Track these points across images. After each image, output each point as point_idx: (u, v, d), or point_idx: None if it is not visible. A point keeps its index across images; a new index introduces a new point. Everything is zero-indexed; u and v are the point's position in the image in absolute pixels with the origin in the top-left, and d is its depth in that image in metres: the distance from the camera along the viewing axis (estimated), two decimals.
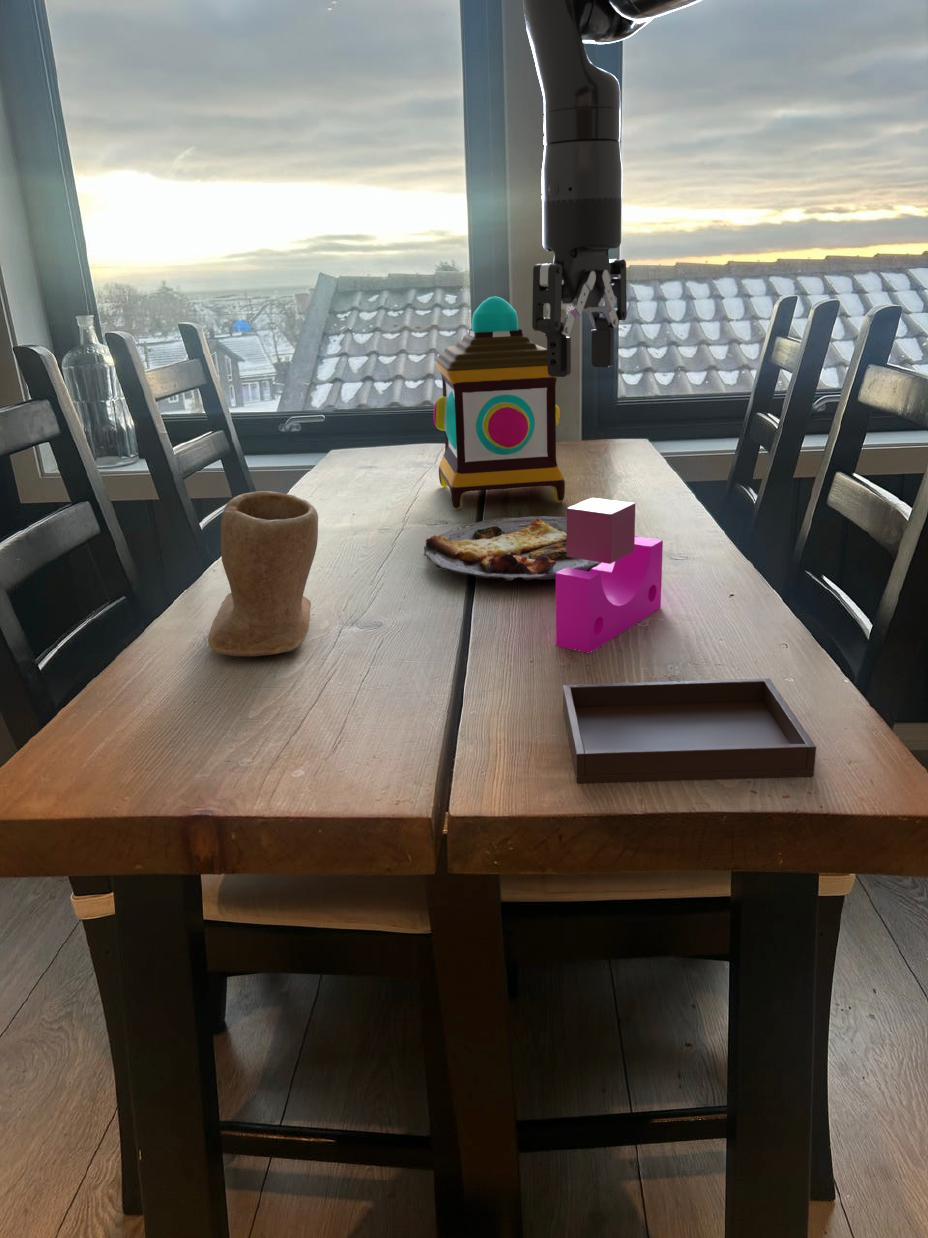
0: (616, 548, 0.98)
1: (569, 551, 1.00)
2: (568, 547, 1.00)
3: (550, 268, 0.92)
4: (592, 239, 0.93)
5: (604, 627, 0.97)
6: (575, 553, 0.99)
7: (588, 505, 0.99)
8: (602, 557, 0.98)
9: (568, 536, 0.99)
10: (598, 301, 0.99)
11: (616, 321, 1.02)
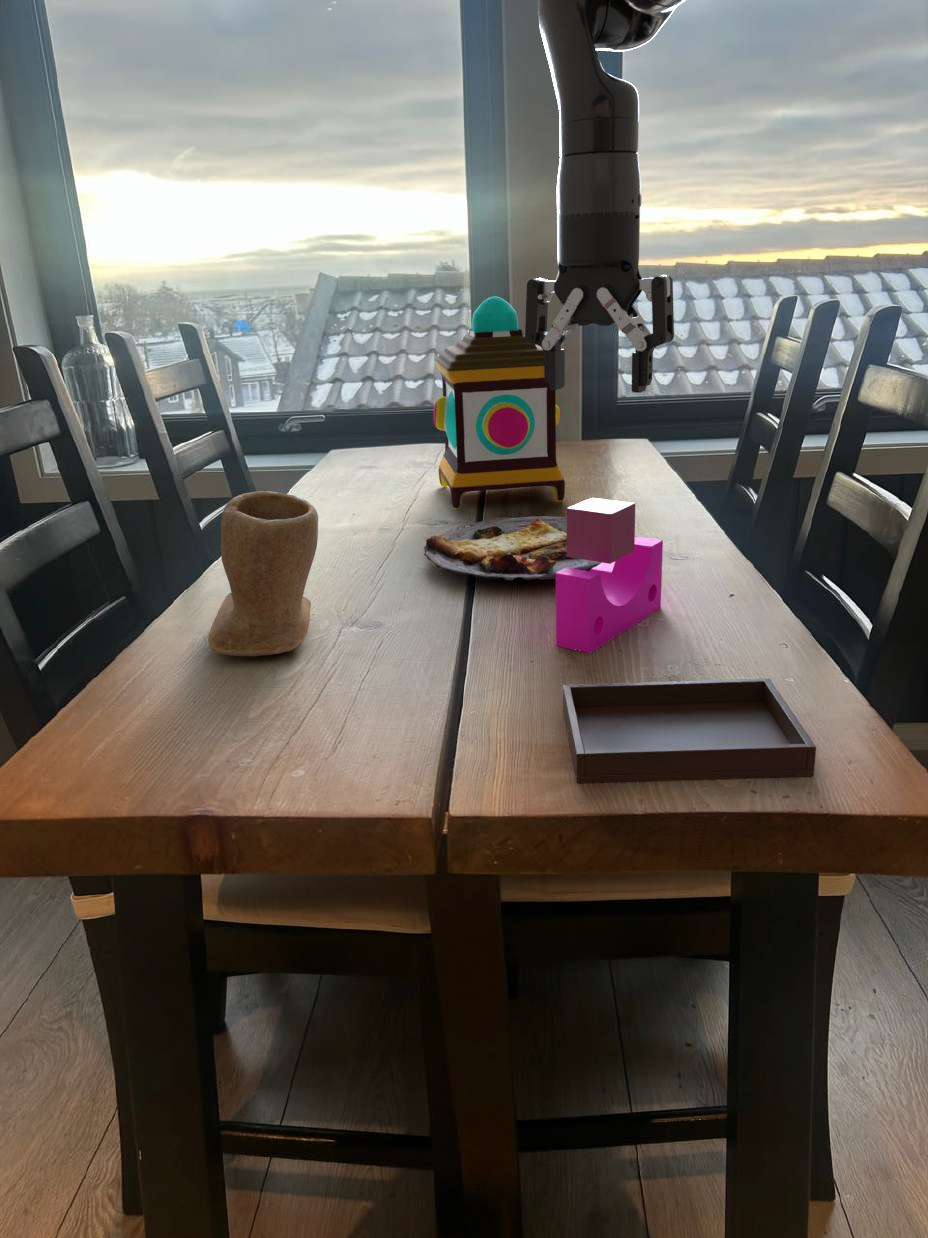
0: (616, 548, 0.98)
1: (569, 551, 1.00)
2: (568, 547, 1.00)
3: None
4: (560, 256, 0.92)
5: (604, 627, 0.97)
6: (575, 553, 0.99)
7: (588, 505, 0.99)
8: (602, 557, 0.98)
9: (569, 536, 0.99)
10: (607, 320, 0.93)
11: (639, 344, 0.92)
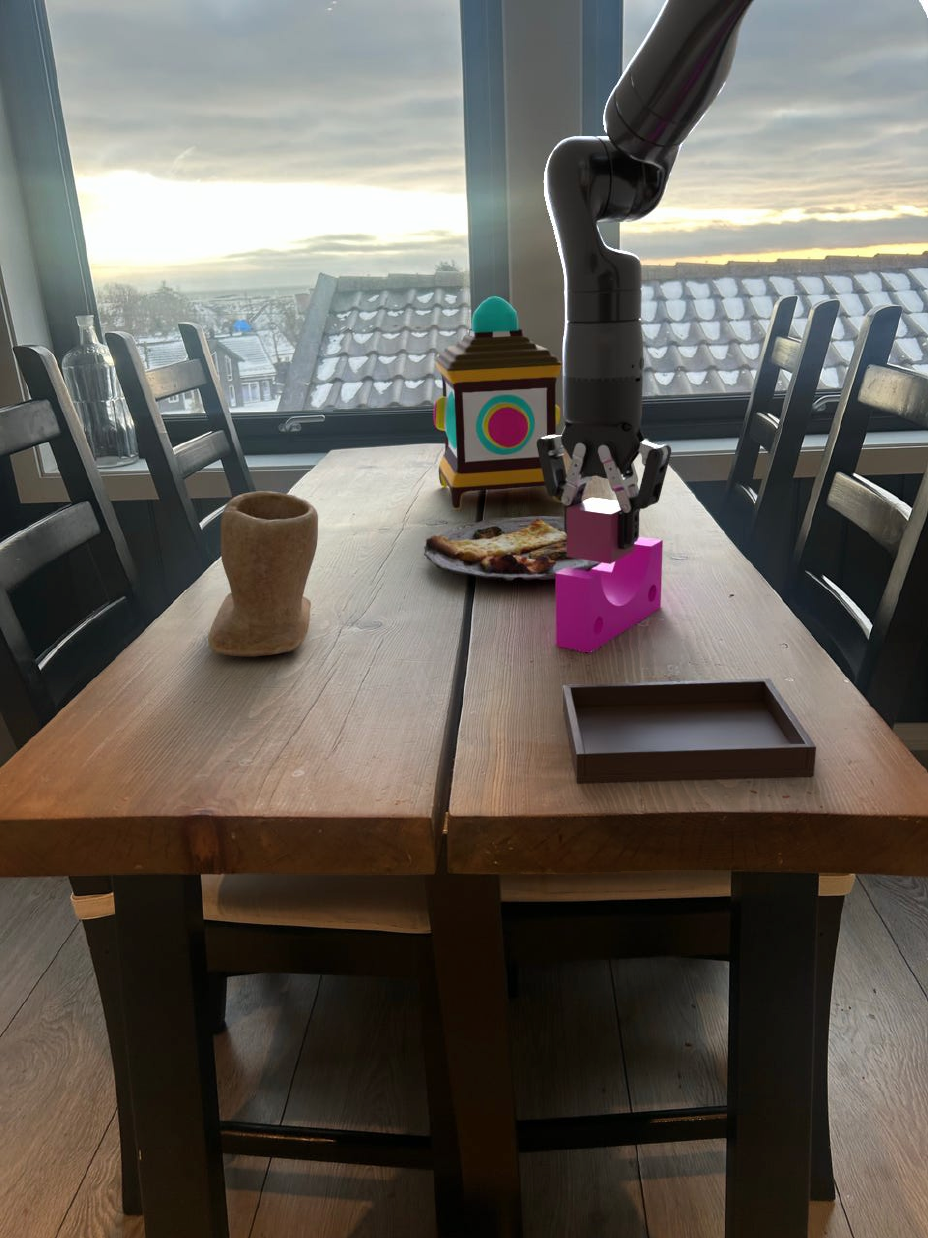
0: (617, 548, 0.98)
1: (569, 551, 1.00)
2: (568, 547, 1.00)
3: None
4: (564, 413, 0.95)
5: (604, 627, 0.97)
6: (575, 553, 0.99)
7: (588, 505, 0.99)
8: (602, 557, 0.98)
9: (568, 536, 0.99)
10: (602, 472, 0.96)
11: (624, 506, 0.96)
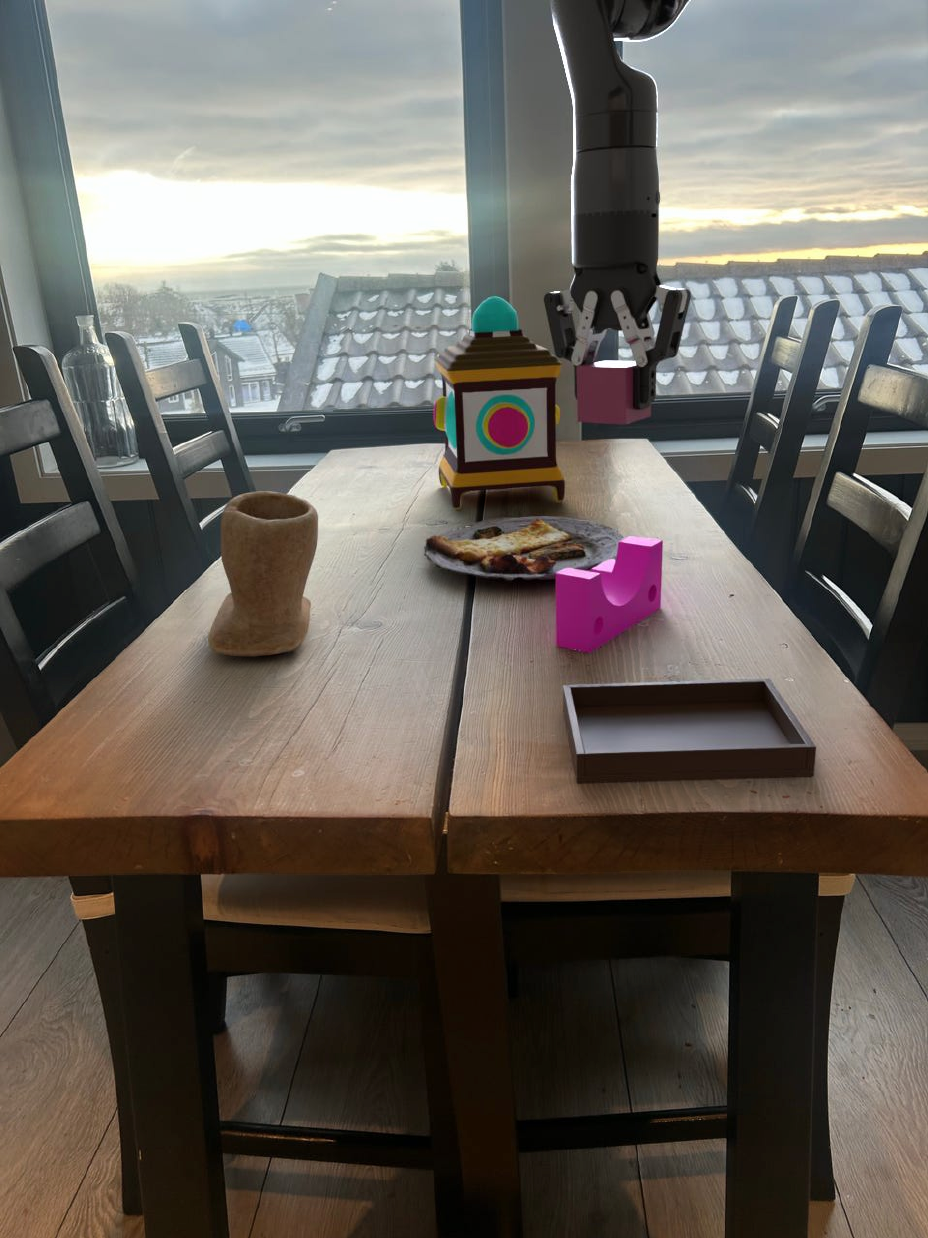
0: (632, 408, 0.90)
1: (580, 415, 0.92)
2: (579, 410, 0.92)
3: None
4: (573, 258, 0.88)
5: (604, 627, 0.97)
6: (587, 416, 0.92)
7: (600, 364, 0.91)
8: (616, 418, 0.90)
9: (579, 398, 0.92)
10: (616, 324, 0.89)
11: (639, 359, 0.88)
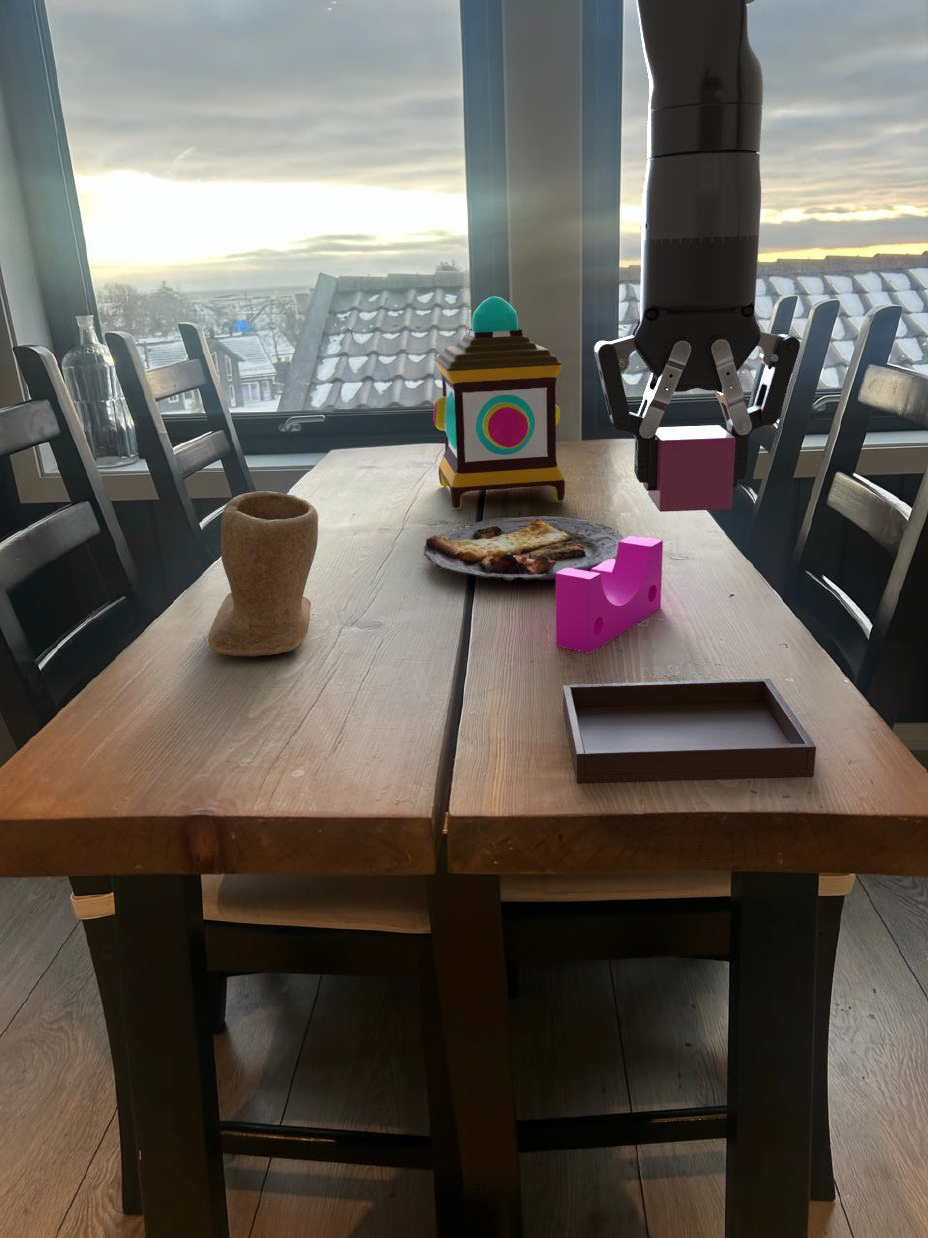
0: None
1: (665, 503, 0.69)
2: (663, 497, 0.69)
3: (597, 351, 0.68)
4: (665, 297, 0.64)
5: (604, 627, 0.97)
6: (674, 504, 0.69)
7: (676, 434, 0.70)
8: (719, 502, 0.69)
9: (664, 482, 0.69)
10: (707, 382, 0.68)
11: (743, 425, 0.69)
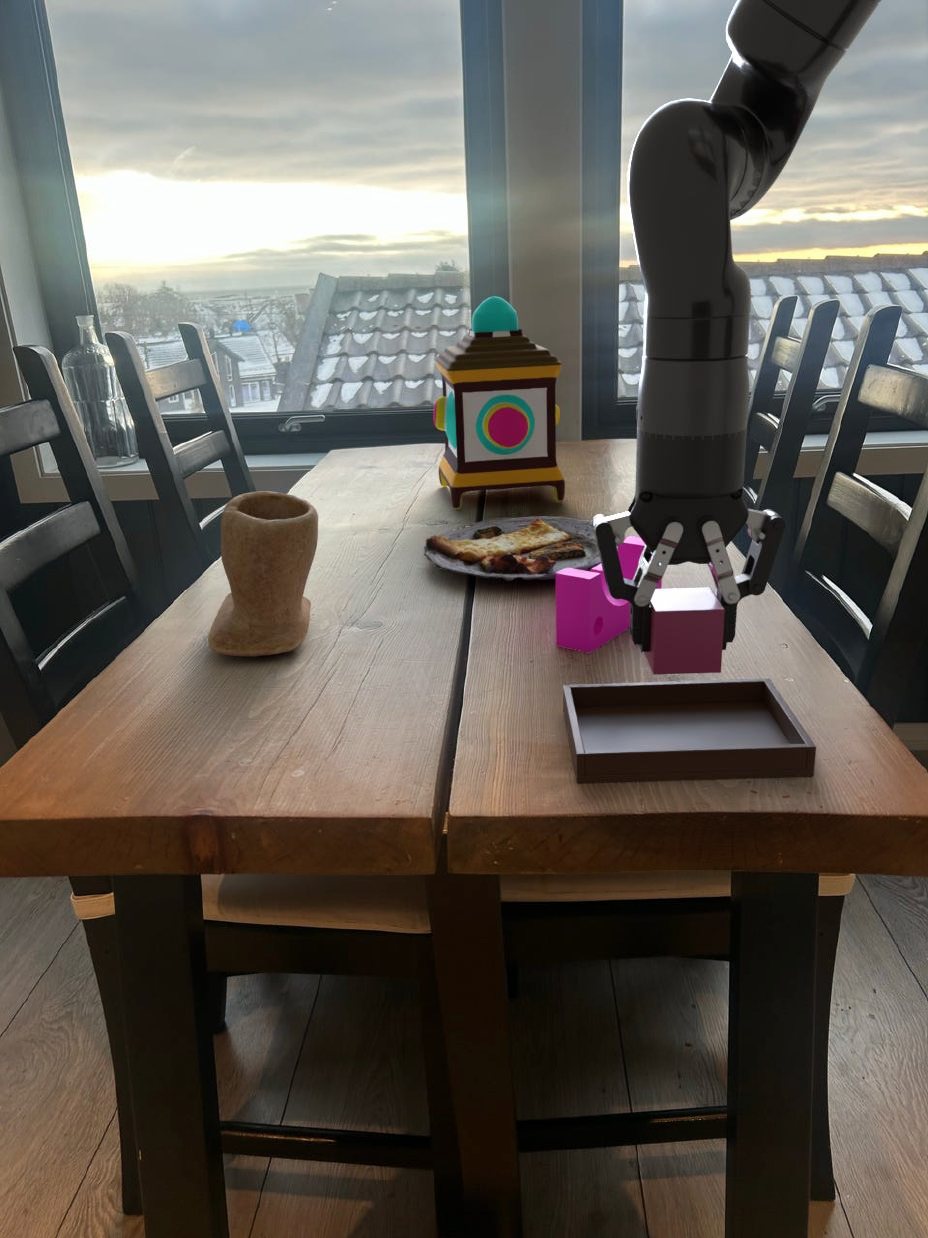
0: None
1: (658, 667, 0.74)
2: (656, 662, 0.73)
3: (595, 528, 0.72)
4: (658, 486, 0.69)
5: (604, 627, 0.97)
6: (667, 668, 0.74)
7: (669, 601, 0.74)
8: (709, 666, 0.74)
9: (658, 648, 0.73)
10: (698, 556, 0.72)
11: (731, 596, 0.73)
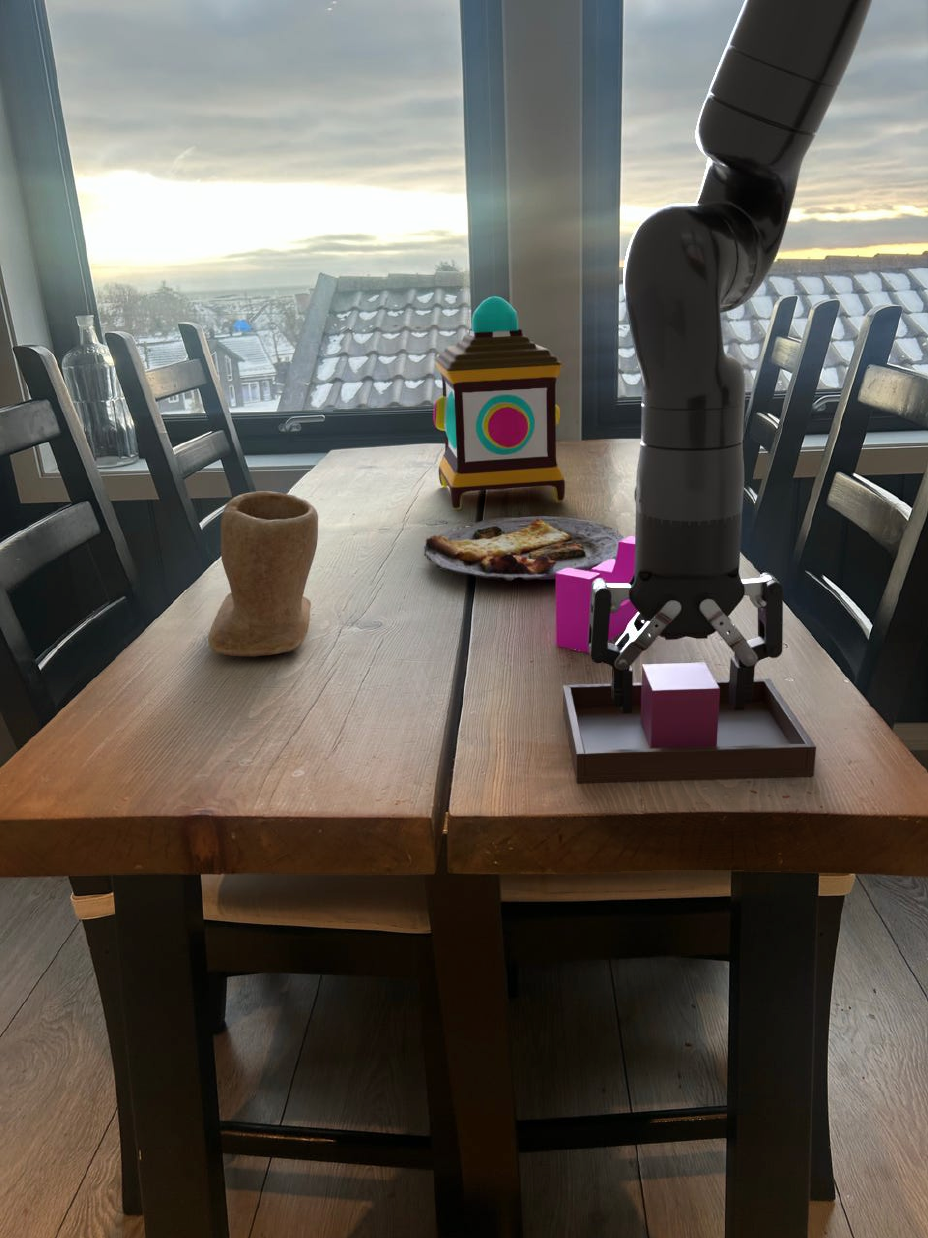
0: None
1: (655, 743, 0.76)
2: (654, 738, 0.76)
3: (595, 591, 0.74)
4: (657, 567, 0.71)
5: None
6: (664, 744, 0.76)
7: (666, 679, 0.76)
8: (705, 742, 0.76)
9: (655, 725, 0.75)
10: (706, 632, 0.74)
11: (749, 659, 0.75)
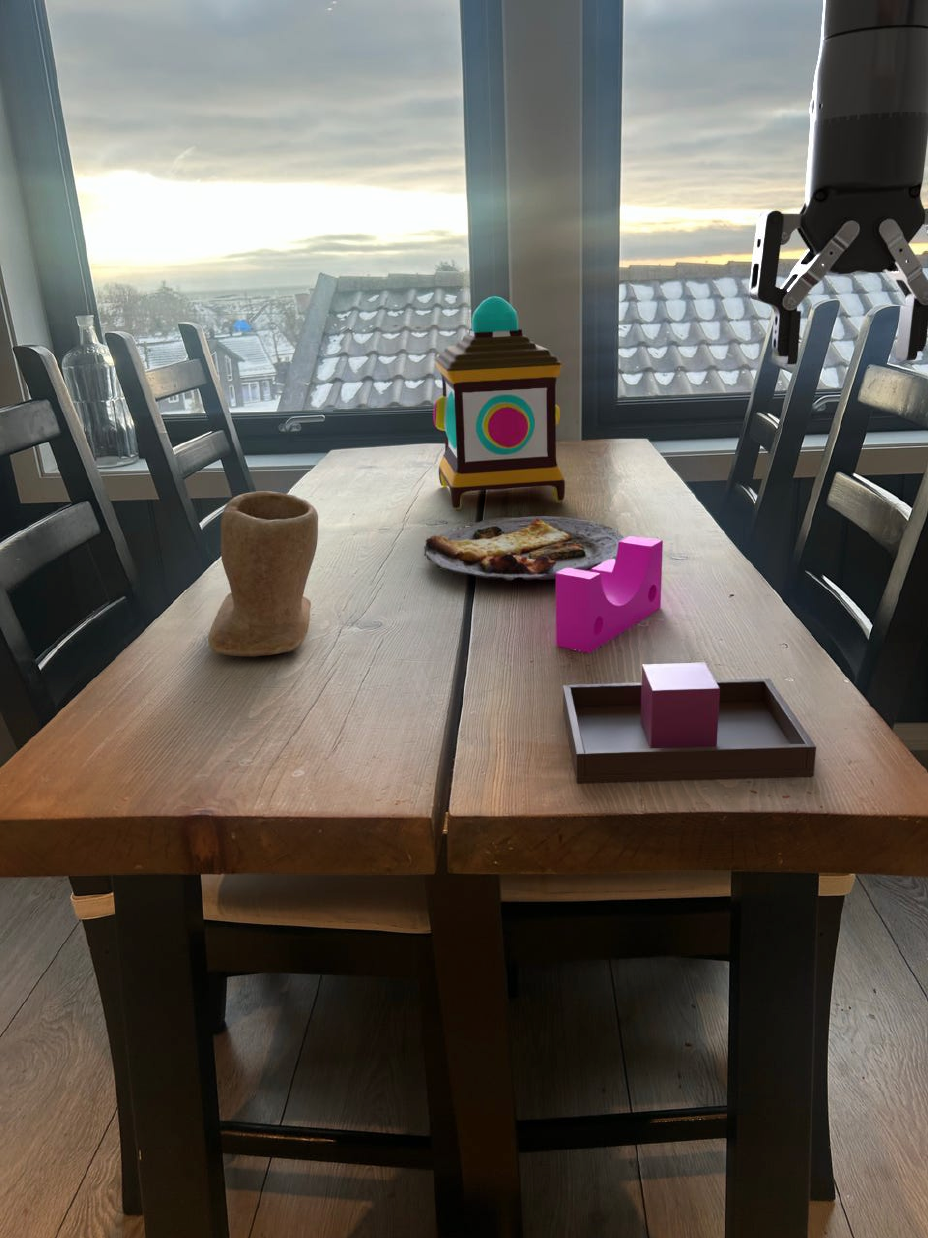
0: None
1: (655, 743, 0.76)
2: (654, 738, 0.76)
3: (765, 217, 0.69)
4: (838, 175, 0.66)
5: (604, 627, 0.97)
6: (664, 744, 0.76)
7: (666, 679, 0.76)
8: (705, 742, 0.76)
9: (655, 725, 0.75)
10: (881, 264, 0.70)
11: (926, 295, 0.70)
